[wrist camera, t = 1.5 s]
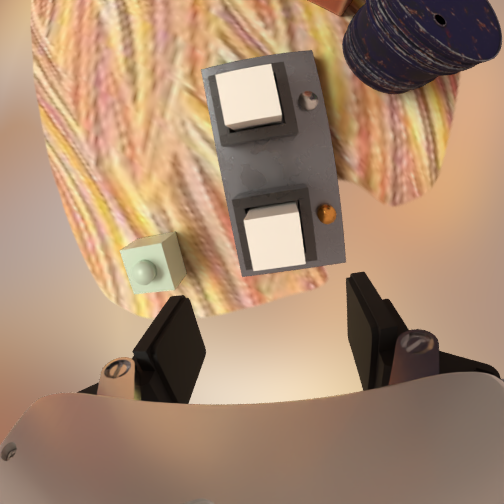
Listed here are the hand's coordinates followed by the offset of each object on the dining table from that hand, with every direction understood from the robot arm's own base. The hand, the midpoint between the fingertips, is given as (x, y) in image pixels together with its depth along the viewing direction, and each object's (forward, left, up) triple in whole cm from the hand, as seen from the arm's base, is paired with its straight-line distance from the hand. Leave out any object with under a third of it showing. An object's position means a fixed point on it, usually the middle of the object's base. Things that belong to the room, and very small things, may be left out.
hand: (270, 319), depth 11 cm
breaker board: (-6, +1, -20) cm, 20 cm away
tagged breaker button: (0, 0, -15) cm, 15 cm away
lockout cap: (+2, -14, -20) cm, 24 cm away
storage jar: (-17, +15, -20) cm, 30 cm away
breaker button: (-11, 0, -15) cm, 19 cm away
